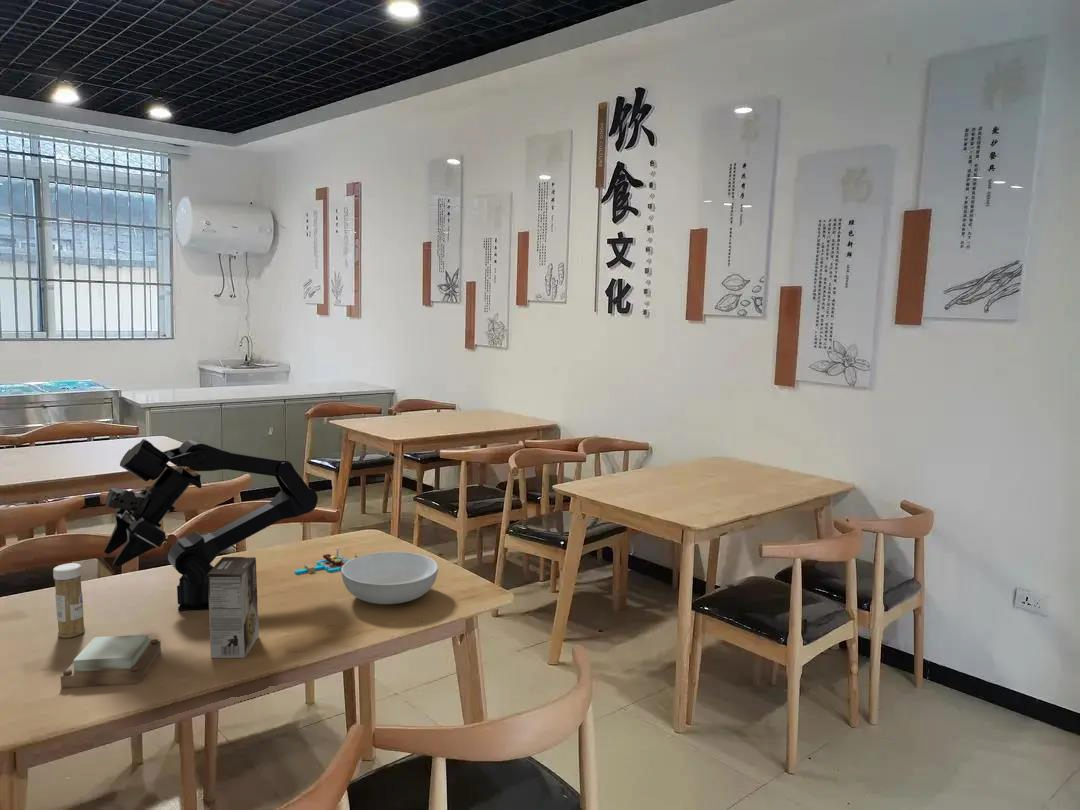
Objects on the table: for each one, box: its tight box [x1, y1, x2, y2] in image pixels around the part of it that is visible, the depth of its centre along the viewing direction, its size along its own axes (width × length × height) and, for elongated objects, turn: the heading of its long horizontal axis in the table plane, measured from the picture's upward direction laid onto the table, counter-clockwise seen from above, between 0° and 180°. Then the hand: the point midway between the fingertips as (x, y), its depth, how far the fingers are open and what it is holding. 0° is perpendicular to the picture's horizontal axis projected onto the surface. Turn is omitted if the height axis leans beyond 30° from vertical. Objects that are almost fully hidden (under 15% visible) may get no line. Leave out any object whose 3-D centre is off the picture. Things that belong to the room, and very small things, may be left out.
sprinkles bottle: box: [52, 562, 86, 639], centre depth 147 cm, size 5×5×13 cm
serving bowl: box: [340, 551, 439, 605], centre depth 170 cm, size 21×21×7 cm
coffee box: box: [207, 556, 260, 659], centre depth 143 cm, size 9×6×16 cm
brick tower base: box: [59, 634, 162, 689], centre depth 135 cm, size 12×12×4 cm
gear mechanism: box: [294, 547, 364, 575], centre depth 189 cm, size 20×5×9 cm
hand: (110, 559), depth 152 cm, fingers open, 9 cm apart
